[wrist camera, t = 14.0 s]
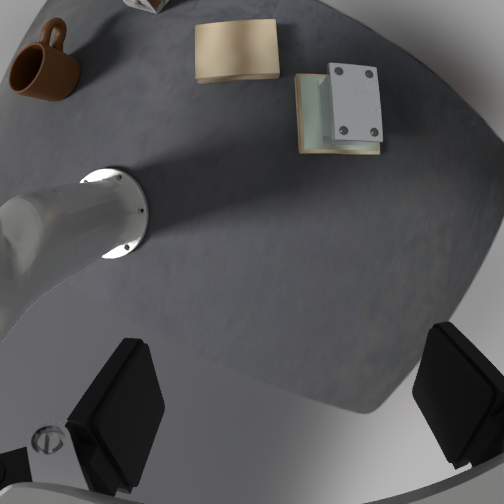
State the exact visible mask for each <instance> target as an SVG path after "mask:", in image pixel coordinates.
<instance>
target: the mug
mask: <svg viewBox="0 0 504 504" xmlns="http://www.w3.org/2000/svg"><path fill="white" fill-rule="evenodd" d="M53 28H55V29H56V35H55V38H54V40H53V43H52V47H51V46H49V42H50V37H51V32H52V29H53ZM66 32H67V28H66V24H65V22H64V21H63V20H62V19H61V18H53V19H51V20H49V21H48V22H47V23H46V24H45V25H44V27H43V29H42V31H41V35H40V40H39V42H36V43H32V44H29V45H28V46H26V47H25V48H24V49H23V50H22V51H21V52H20V53H19V54H18V56H17V57H16V59H15V60H14V62H13V64H12V66H11V69H10V73H9V86H10V88H11V90H12V91H13V92H15V93H17V94H20V95H24V96H28V97H33V98H38V99H43V100H48V101H59V100H62V99H64V98H65V97H67V96H68V95H69V94H70V93H71V92H72V91H73V90H74V88H75V86H76V85H77V82H78V80H79V76H80V66H79V63H78V62H77V60H76V59H75V58H73V57H71V56H69V55H67V54H65V53H64V52H63V42H64V40H65V37H66Z"/></svg>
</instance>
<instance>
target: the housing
mask: <svg viewBox="0 0 504 504" xmlns="http://www.w3.org/2000/svg"><path fill="white" fill-rule="evenodd" d="M317 91H318V104H319V119H320V136H321V145H352V146H363V145H364V142H377V143H379V142H383V132H382V117H381V105H380V94H379V85H378V76H377V69H376V67H370V66H361V65H352V64H341V63H329V64H328V65H327V76H326V78H325V79H318V80H317Z"/></svg>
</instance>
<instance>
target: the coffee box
mask: <svg viewBox="0 0 504 504" xmlns="http://www.w3.org/2000/svg"><path fill="white" fill-rule="evenodd" d="M123 1H124V2H125V3H126V4H127V5H128V6H130V7H134V8H138V9H141V10H145V11H149V12H152V13H156V14H158V13H159V12H160V11H161V10H162V8H163V7H164V6H165V5H166V4H167V2H168V1H169V0H123Z"/></svg>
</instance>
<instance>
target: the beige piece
mask: <svg viewBox="0 0 504 504" xmlns="http://www.w3.org/2000/svg"><path fill="white" fill-rule="evenodd" d="M195 74H196V80H197V81H198V83H199V84H204V83H213V82H224V81H236V80H253V79H279V74H280V70H279V56H278V44H277V32H276V21H275V19H262V20H241V21H228V22H218V23H209V24H201V25H195Z"/></svg>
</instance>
